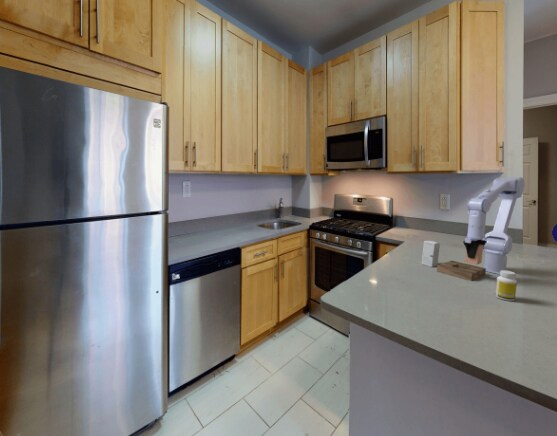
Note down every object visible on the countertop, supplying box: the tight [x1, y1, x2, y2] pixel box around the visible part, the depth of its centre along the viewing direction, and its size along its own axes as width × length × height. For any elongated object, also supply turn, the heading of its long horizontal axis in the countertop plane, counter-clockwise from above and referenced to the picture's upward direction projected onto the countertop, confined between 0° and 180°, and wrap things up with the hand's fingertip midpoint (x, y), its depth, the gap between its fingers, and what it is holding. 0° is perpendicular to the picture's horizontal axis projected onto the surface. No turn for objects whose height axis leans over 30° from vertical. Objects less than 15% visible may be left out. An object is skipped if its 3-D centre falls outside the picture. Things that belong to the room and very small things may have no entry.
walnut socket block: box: [436, 260, 487, 282], centre depth 119 cm, size 14×14×3 cm
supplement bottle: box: [494, 269, 518, 302], centre depth 92 cm, size 5×5×10 cm
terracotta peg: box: [464, 245, 484, 266], centre depth 112 cm, size 4×4×8 cm
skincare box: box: [421, 240, 441, 268], centre depth 130 cm, size 6×4×12 cm
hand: (473, 257), depth 112 cm, fingers closed on terracotta peg, 4 cm apart
